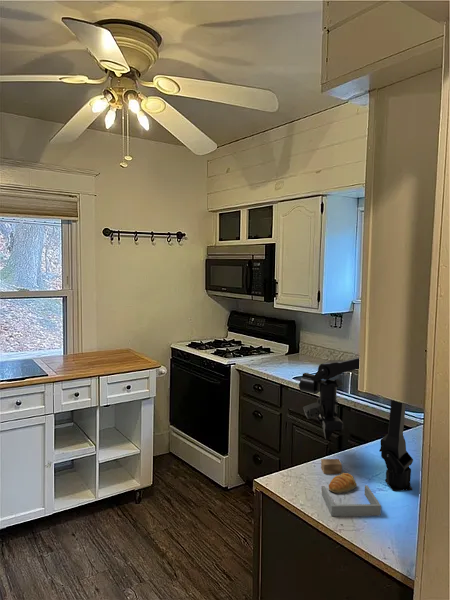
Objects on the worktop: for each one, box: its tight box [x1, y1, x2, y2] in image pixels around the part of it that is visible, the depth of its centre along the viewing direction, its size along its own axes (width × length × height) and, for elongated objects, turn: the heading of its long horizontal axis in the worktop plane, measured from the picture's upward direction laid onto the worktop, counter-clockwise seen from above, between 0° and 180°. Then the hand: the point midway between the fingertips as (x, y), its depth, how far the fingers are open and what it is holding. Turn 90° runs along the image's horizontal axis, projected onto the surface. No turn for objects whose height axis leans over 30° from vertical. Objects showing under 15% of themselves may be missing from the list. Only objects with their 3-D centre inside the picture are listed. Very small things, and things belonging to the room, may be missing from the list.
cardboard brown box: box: [320, 458, 343, 475], centre depth 157 cm, size 6×4×4 cm, turn 92°
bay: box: [321, 484, 382, 517], centre depth 136 cm, size 14×11×3 cm
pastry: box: [328, 472, 358, 494], centre depth 146 cm, size 9×7×4 cm
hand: (326, 439), depth 163 cm, fingers closed
